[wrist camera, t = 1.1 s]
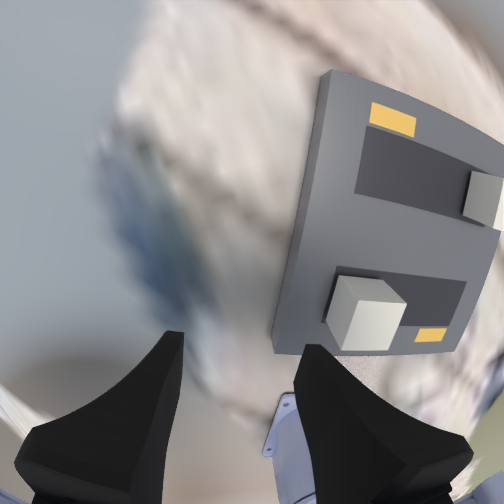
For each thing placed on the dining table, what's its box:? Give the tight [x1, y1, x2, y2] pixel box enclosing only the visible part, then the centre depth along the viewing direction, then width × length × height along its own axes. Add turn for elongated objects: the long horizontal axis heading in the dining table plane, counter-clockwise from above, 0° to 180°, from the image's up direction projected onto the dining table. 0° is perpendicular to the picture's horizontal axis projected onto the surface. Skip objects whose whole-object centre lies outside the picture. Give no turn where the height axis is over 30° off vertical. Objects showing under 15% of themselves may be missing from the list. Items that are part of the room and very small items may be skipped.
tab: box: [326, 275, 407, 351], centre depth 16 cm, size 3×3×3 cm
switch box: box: [271, 69, 504, 356], centre depth 18 cm, size 17×16×2 cm
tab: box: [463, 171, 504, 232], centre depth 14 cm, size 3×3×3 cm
